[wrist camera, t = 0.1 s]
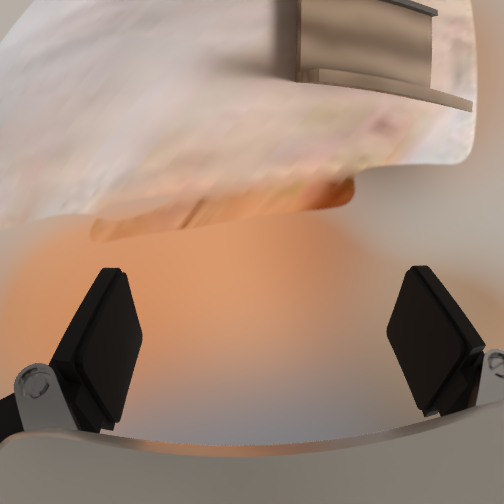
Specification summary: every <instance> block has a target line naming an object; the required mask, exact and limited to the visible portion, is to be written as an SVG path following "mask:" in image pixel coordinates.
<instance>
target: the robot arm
mask: <svg viewBox="0 0 504 504" xmlns="http://www.w3.org/2000/svg"><path fill="white" fill-rule="evenodd" d="M387 337H388V339H389V342H390V344H391V346H392V348H393V350H394V353H395V355H396V357H397V359H398V362H399V364H400V366H401V368H402V371H403V373H404V376H405V378H406V380H407V383H408V385H409V387H410V390H411V392H412V395H413V397H414V400H415V402H416V405H417V407H418V409H420V410H422V412H423V414H424V417H428V416H431V415H435V414H437V413H438V412H439V413H440V416H441V417H438V418H435V419H431V420H427V421H424V422H420V423H416V424H412V425H408V426H404V427H399V428H395V429H390V430H386V431H381V432H376V433H370V434H364V435H358V436H352V437H346V438H339V439H332V440H323V441H315V442H304V443H292V444H278V445H277V444H276V445H249V446H248V445H244V446H226V445H224V446H223V445H195V444H181V443H169V442H159V441H149V440H140V439H132V438H125V437H118V436H112V435H105V434H99V433H100V430H101V429H106V430H112V431H113V429H114V425H115V422H116V423H118V422H119V421H120V419H121V416H122V412H123V408H124V404H125V400H126V396H127V392H128V389H129V385H130V382H131V378H132V374H133V371H134V367H135V364H136V360H137V357H138V354H139V350H140V347H141V344H142V330H141V327H140V324H139V320H138V317H137V313H136V309H135V306H134V302H133V298H132V295H131V290H130V287H129V282H128V278H127V275H126V273H124V272H123V273H122V271H121V269H120V268H103V269H102V270H101V271H100V273H99V274H98V276H97V278H96V279H95V281H94V283H93V284H92V286H91V288H90V289H89V291H88V293H87V294H86V296H85V298H84V300H83V301H82V303H81V305H80V306H79V308H78V310H77V312H76V314H75V315H74V317H73V319H72V321H71V322H70V325H69V326H68V328H67V330H66V332H65V334H64V336H63V338H62V339H61V341H60V343H59V345H58V347H57V349H56V351H55V353H54V355H53V357H52V359H51V361H50V363H49V365H46V364H42V363H35V364H32V365H29V366H27V367H26V368H24V369H23V370H22V371H21V372H20V373H19V374H18V376H17V377H16V379H15V383H14V393H12V394H11V395H9V396H7V397H5V398H3V399H1V400H0V504H504V351H502V350H499V349H491V350H489V351H487V353H485V354H484V352H483V351H482V350H483V349H484V347H485V346H486V345H485V343H484V341H483V340H482V338H481V337H480V335H479V334H478V332H477V331H476V330H475V328H474V327H473V325H472V324H471V322H470V321H469V319H468V318H467V317H466V315H465V314H464V312H463V311H462V310H461V308H460V307H459V305H458V304H457V303H456V301H455V300H454V299H453V297H452V296H451V295H450V294H449V292H448V291H447V290H446V288H445V287H444V285H443V284H442V283H441V282H440V280H439V279H438V278H437V277H436V275H435V274H434V273H433V272H432V270H431V269H430V268H429V267H428V266H412V267H411V268H410V270H408V271H407V272H406V274H405V277H404V280H403V283H402V286H401V289H400V292H399V296H398V298H397V302H396V304H395V307H394V310H393V313H392V315H391V318H390V321H389V324H388V326H387Z"/></svg>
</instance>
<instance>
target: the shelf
mask: <svg viewBox="0 0 504 504" xmlns="http://www.w3.org/2000/svg"><path fill="white" fill-rule="evenodd" d="M433 16H438V10H436V9H433V8H430V7H428V6H425V5H422V4H419V3H416V2H413V1H410V0H297V52H296V82H300V83H313V84H324V85H333V86H342V87H349V88H357V89H363V90H370V91H376V92H382V93H387V94H393V95H398V96H403V97H407V98H412V99H416V100H421V101H426V102H431V103H436V104H440V105H444V106H449V107H453V108H457V109H461V110H465V111H468V112H472V105H473V102H472V101H469V100H466V99H463V98H460V97H457V96H454V95H450V94H447V93H444V92H440V91H437V90H433V89H430V82H431V61H432V17H433Z"/></svg>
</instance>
